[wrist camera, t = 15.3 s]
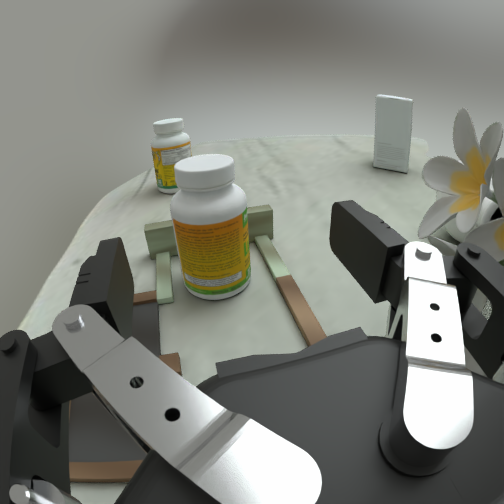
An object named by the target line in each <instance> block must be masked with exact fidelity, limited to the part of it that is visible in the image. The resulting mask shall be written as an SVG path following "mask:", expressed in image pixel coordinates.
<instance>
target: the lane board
mask: <svg viewBox="0 0 504 504" xmlns="http://www.w3.org/2000/svg"><path fill="white" fill-rule="evenodd" d="M247 215H248V234H249V242H255V243H256V245H257V247H258V249H259V250H260V252H261V254H262V256H263V258H264V260H265V262H266V264H267V266H268V268H269V270H270V272H271V274H272V276H273V278H274V280H275V282H276V284H277V286H278V288H279V289H280V291H281V293H282V295H283V297H284V299H285V301H286V303H287V305H288V307H289V309H290V311H291V313H292V315H293V317H294V319H295V321H296V323H297V325H298V327H299V329H300V331H301V333H302V335H303V337H304V339H305V341H306V342H307V344H308V346H311V345H313V344H315V343H317V342H319V341H320V340H322V339H324V338H326V337H327V336H326V334H325V333H324V331H323V329H322V327H321V326H320V324H319V322H318V321H317V319H316V317H315V315H314V314H313V312H312V310H311V308H310V307H309V305H308V303H307V302H306V300H305V298H304V296H303V295H302V293H301V291H300V290H299V288H298V286H297V284H296V283H295V281H294V279H293V278H292V276H291V274H290V273H289V271H288V269H287V268H286V266H285V264H284V262H283V261H282V259H281V257H280V256H279V254H278V252H277V251H276V249H275V247H274V246H273V244H272V242H271V241H270V239H272V238H273V209H272V208H271V207H270V205H263V206H256V207H249V208H247ZM144 232H145V236H146V240H147V244H148V249H149V253H150V257H151V259H156V284H157V291H156V290H155V291H149V292H144V293H138V294H134V298H133V316H132V337H133V338H135V339H136V340H137V341H139V342H140V343H141V344H142V345H143V346H144V347H146V348H147V349H148V350H149V351H150V352H152V353H153V354H154V355H155V356H156V357H158V358H159V359H160V360H161V361H163V362H164V363H165V364H166V365H167V366H169V367H170V368H171V369H172V370H174V371H175V372H176V373H178V374H179V375H180V376H182V373H181V365H180V357H179V354H178V353H172V354H166V355H161V350H160V333H159V311H158V305H159V304H164V303H170V302H174V301H173V289H172V276H171V262H170V256H174V255H178V251H177V245H176V240H175V234H174V229H173V223H172V220H169V221H163V222H157V223H152V224H146V225H145V229H144ZM146 455H147V454H146V453H145V452H144V451H143V450H142V449H141V448H140V447H139V446H138V445H137V444H136V443H135V441H134V440H133V439H132V438H131V437H130V436H129V435H128V434H127V433H126V431H125V430H124V429H123V428H122V427H121V426H120V425H119V424H118V423H117V421H116V420H115V419H114V418H113V417H112V416H111V415H110V414H109V412H108V411H107V410H106V409H105V408H104V407H103V405H102V404H101V403H100V402H99V401H98V400H97V398H96V397H95V396H94V395H93V393H92V392H90V393H88V394H85V395H83V396H80V397H78V398H75V399H73V400H70V403H69V474H70V482H129V481H130V480H131V478H132V477H133V475H134V474H135V472H136V470H137V469H138V467H139V466H140V464H141V463H142V461H143V460H144V458H145V457H146Z"/></svg>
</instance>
